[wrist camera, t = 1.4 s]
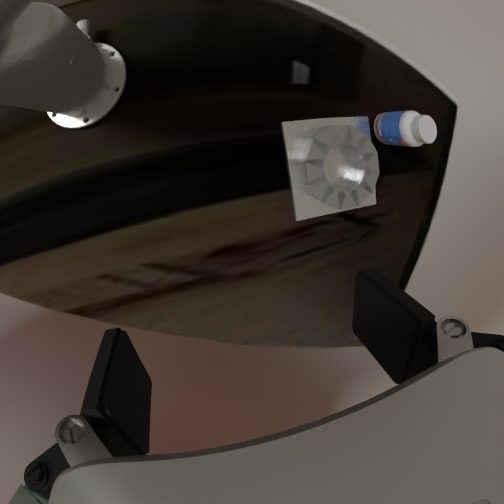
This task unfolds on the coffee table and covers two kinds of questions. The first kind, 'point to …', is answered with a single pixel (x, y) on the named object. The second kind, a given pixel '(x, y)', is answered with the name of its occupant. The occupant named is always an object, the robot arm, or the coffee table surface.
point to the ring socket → (330, 165)
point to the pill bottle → (405, 128)
